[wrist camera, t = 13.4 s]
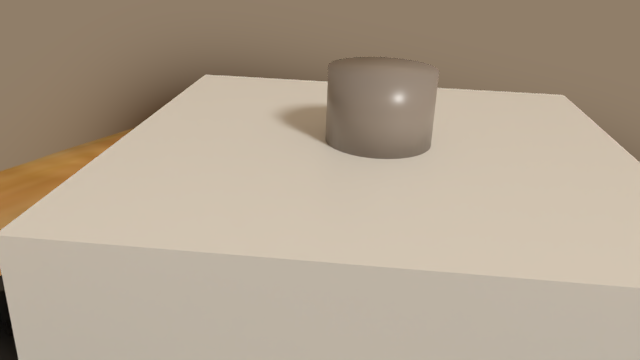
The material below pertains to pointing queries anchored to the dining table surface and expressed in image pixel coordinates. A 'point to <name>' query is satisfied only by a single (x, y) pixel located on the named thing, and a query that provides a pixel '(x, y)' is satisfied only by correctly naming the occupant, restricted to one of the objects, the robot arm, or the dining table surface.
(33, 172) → the dining table surface
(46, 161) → the dining table surface
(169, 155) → the cover
